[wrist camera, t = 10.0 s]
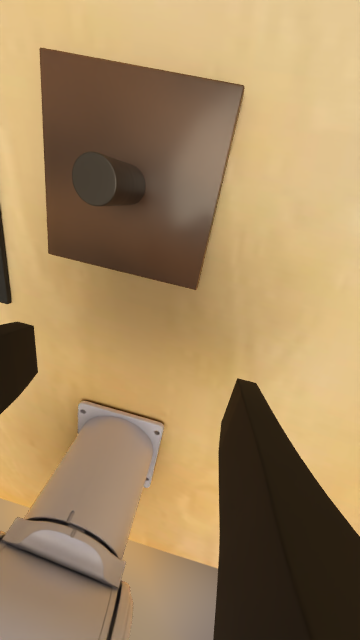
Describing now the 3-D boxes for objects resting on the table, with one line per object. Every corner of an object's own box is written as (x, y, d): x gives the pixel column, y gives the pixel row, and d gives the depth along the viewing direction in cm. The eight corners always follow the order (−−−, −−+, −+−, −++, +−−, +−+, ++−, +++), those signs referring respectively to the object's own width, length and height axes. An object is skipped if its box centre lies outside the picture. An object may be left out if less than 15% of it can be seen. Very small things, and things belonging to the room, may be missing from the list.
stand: (197, 285, 17) (186, 316, 12) (57, 251, 17) (-2, 268, 13) (243, 93, 12) (252, 32, 8) (51, 57, 13) (-41, -18, 9)
